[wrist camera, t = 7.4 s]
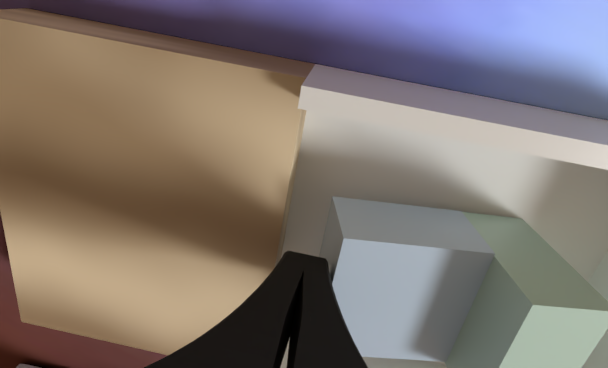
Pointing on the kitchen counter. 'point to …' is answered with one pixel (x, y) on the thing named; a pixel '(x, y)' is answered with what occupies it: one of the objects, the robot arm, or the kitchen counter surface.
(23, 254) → the oak plate
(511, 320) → the tile
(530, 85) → the kitchen counter surface
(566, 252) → the box
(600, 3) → the kitchen counter surface
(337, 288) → the tile
